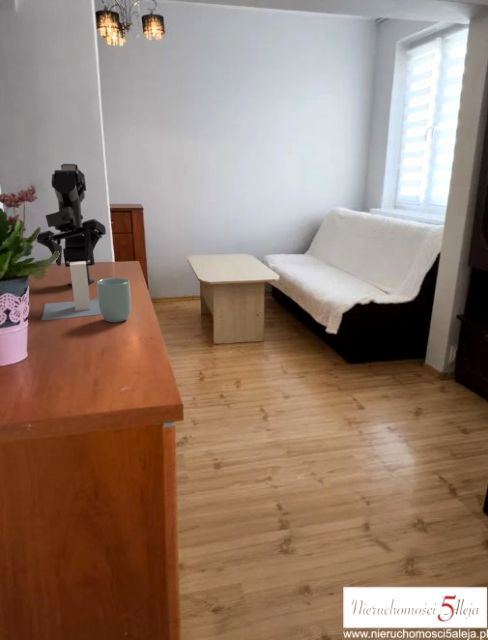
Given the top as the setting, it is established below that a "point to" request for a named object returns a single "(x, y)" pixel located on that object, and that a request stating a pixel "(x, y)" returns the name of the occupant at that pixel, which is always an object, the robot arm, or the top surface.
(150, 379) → the top surface
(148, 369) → the top surface
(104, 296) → the cup
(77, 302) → the block
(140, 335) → the top surface
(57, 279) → the top surface
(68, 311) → the slate mat
